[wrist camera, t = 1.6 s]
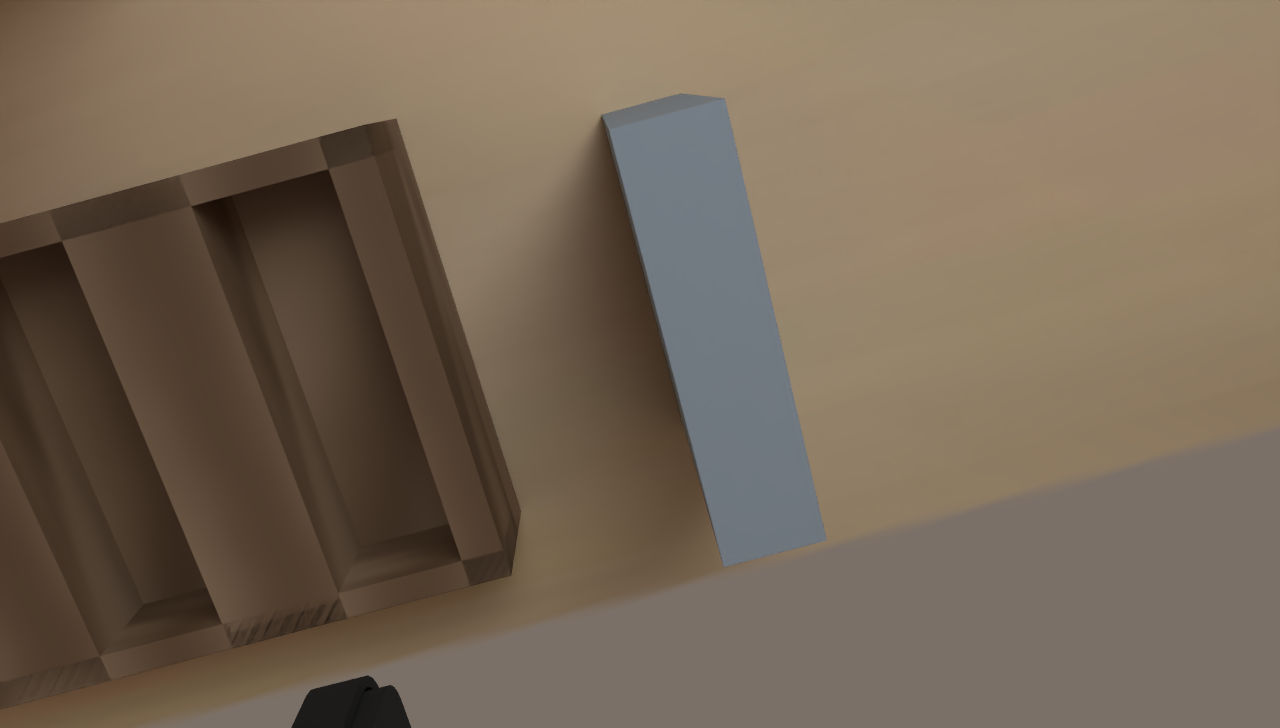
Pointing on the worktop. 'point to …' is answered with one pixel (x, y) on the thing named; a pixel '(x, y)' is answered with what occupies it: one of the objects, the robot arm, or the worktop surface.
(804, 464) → the panel
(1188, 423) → the worktop surface
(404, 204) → the rack
